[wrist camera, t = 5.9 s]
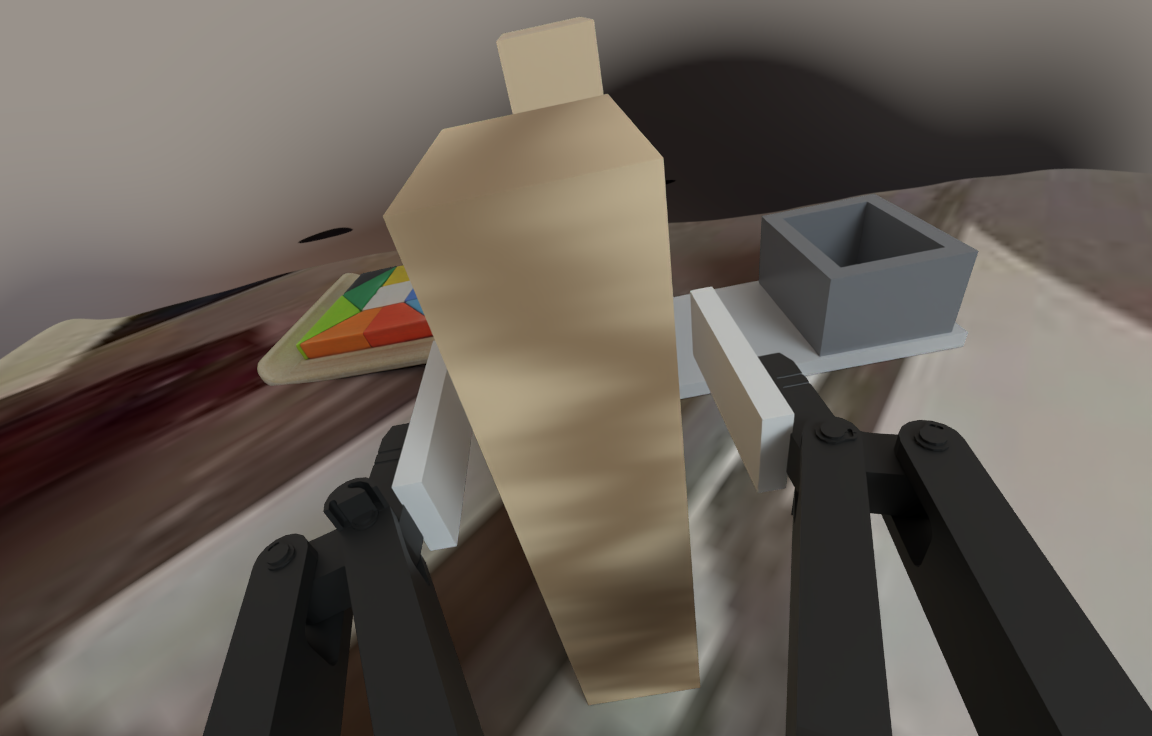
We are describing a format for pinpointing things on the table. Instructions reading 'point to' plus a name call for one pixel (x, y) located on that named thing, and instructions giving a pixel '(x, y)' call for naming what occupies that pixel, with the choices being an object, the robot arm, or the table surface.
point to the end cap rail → (789, 248)
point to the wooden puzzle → (353, 332)
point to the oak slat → (568, 370)
